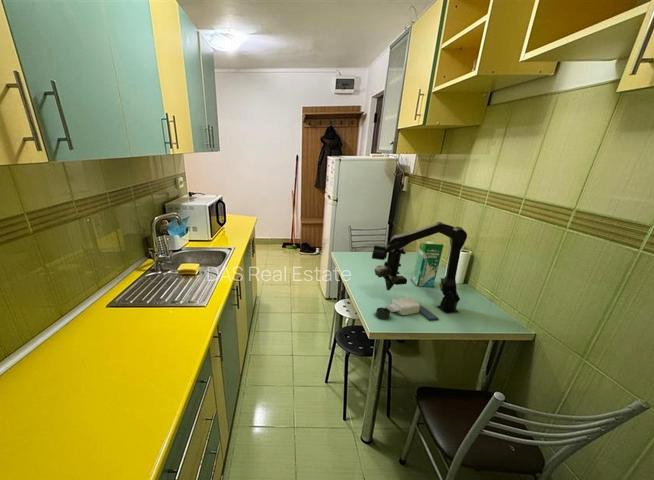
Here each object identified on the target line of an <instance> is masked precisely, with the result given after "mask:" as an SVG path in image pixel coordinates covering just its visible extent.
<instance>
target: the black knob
mask: <svg viewBox="0 0 654 480" xmlns="http://www.w3.org/2000/svg"><path fill="white" fill-rule="evenodd" d="M375 316H376V317H377V318H378V319H380V320H384V321H385V320H388V319H390V317H391V311H390V310H389V309H388V308H386V307H377V308H376V311H375Z"/></svg>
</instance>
